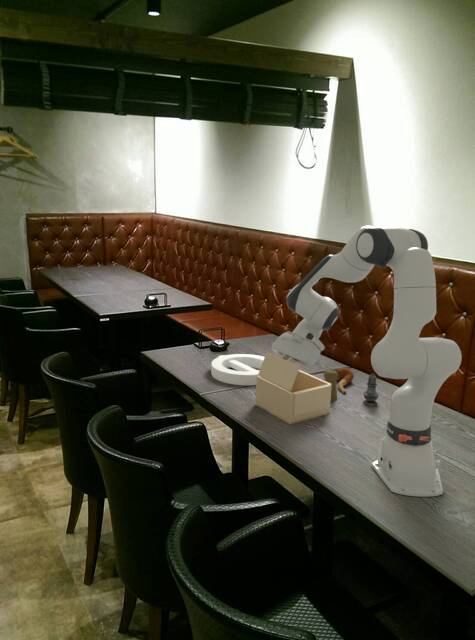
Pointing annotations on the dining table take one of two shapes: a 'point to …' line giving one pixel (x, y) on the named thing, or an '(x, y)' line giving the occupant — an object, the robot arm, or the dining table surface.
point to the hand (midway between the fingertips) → (281, 367)
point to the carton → (295, 398)
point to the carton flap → (279, 371)
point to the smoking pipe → (344, 377)
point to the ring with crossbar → (237, 368)
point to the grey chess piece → (371, 391)
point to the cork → (332, 382)
